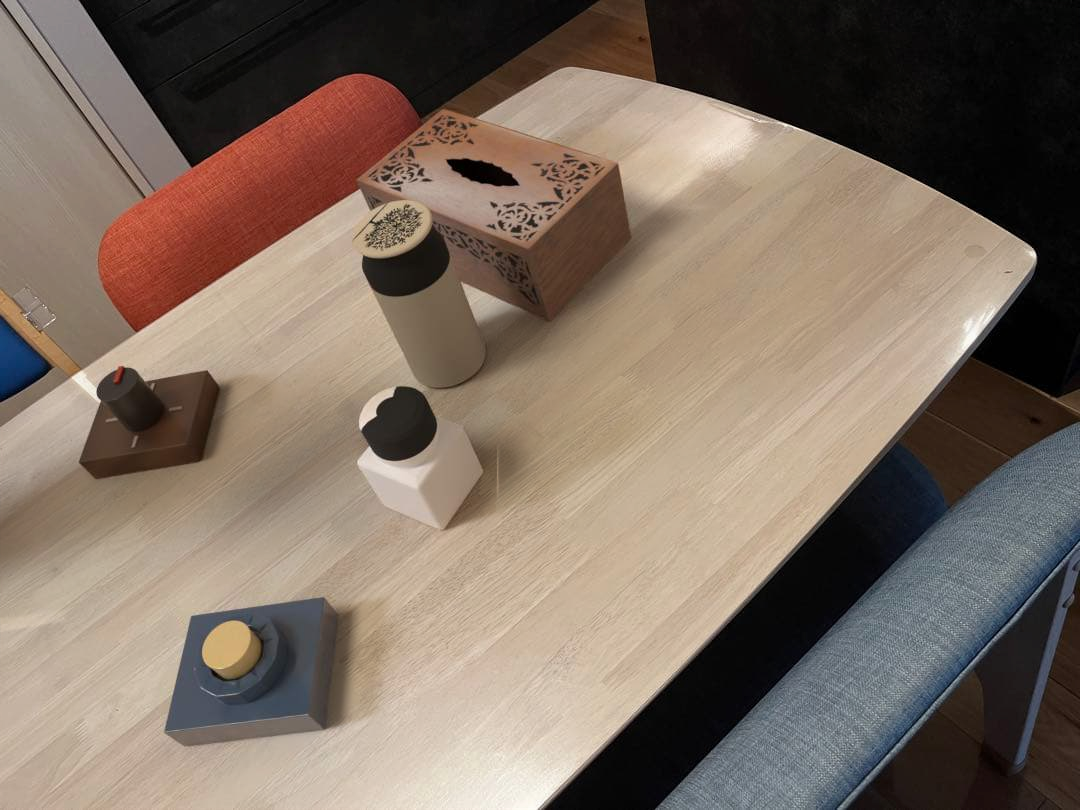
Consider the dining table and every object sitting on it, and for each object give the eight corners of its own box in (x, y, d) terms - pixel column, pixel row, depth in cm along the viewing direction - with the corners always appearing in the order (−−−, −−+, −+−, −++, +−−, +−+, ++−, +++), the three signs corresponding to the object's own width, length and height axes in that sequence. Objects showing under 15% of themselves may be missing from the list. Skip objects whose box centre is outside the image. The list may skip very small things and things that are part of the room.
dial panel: (95, 479, 95) (77, 461, 92) (120, 405, 101) (104, 387, 99) (201, 461, 93) (186, 443, 91) (220, 387, 99) (206, 368, 97)
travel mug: (502, 348, 94) (452, 211, 80) (451, 401, 91) (390, 267, 77) (448, 322, 98) (391, 188, 85) (397, 372, 95) (330, 240, 81)
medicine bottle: (485, 471, 84) (448, 388, 75) (443, 533, 81) (399, 454, 72) (425, 448, 88) (382, 366, 79) (382, 506, 84) (332, 428, 75)
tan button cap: (209, 682, 71) (196, 671, 70) (219, 634, 74) (207, 623, 72) (257, 676, 71) (245, 665, 69) (266, 628, 73) (254, 617, 72)
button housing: (184, 747, 73) (150, 724, 69) (209, 631, 80) (179, 605, 76) (325, 730, 71) (298, 706, 68) (338, 613, 78) (315, 586, 74)
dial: (158, 427, 93) (130, 394, 89) (119, 434, 94) (89, 402, 90) (168, 395, 96) (140, 361, 92) (129, 402, 96) (100, 369, 92)
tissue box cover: (386, 247, 109) (356, 180, 101) (466, 177, 114) (443, 108, 107) (549, 321, 95) (528, 249, 87) (631, 237, 100) (618, 162, 93)
